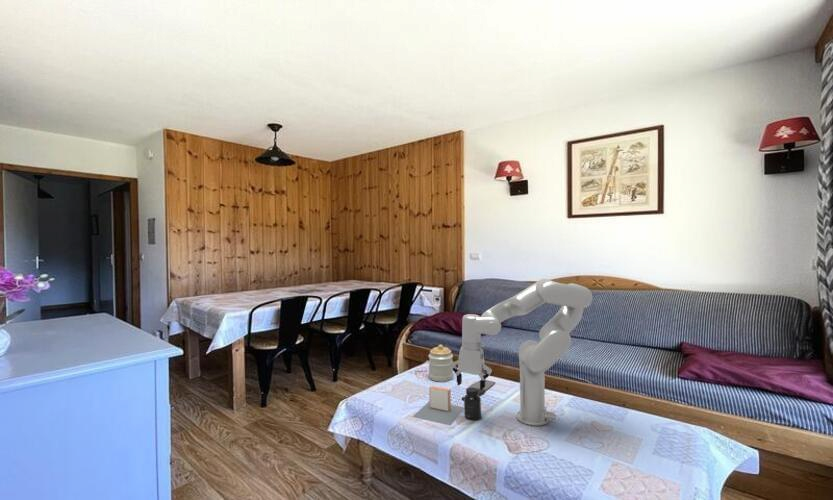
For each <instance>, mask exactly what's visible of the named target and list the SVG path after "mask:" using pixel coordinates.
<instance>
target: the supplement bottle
mask: <svg viewBox="0 0 833 500" xmlns="http://www.w3.org/2000/svg"><path fill="white" fill-rule="evenodd" d="M465 390H466V391H465V392H466V394H465V395H464V396H463V397H464V401H463V407H464V410H463V411H464V412H463V413H464V418H465V420H468V421H471V422H476V421H479V420H481V419H482V398H481V396H479V395H478V389H477V388H474V387H470V388H468V387H467V388H466V389H465Z"/></svg>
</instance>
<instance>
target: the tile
mask: <svg viewBox="0 0 833 500" xmlns="http://www.w3.org/2000/svg"><path fill="white" fill-rule="evenodd" d="M429 401H430V408H434V409H438V410H443V411H448V412H449V411H450V410H451V405H452V402H451V401H452V400H451V388H446V387H441V386H438V385H437V386H435V385H430V386H429Z"/></svg>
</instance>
